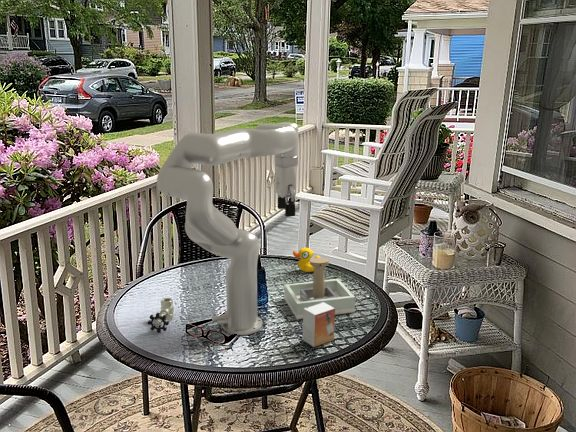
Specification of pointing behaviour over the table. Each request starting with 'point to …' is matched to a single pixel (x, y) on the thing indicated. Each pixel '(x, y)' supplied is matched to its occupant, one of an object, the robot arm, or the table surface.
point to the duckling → (305, 259)
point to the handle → (319, 276)
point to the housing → (334, 296)
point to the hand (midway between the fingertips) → (286, 212)
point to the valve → (162, 315)
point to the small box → (318, 324)
